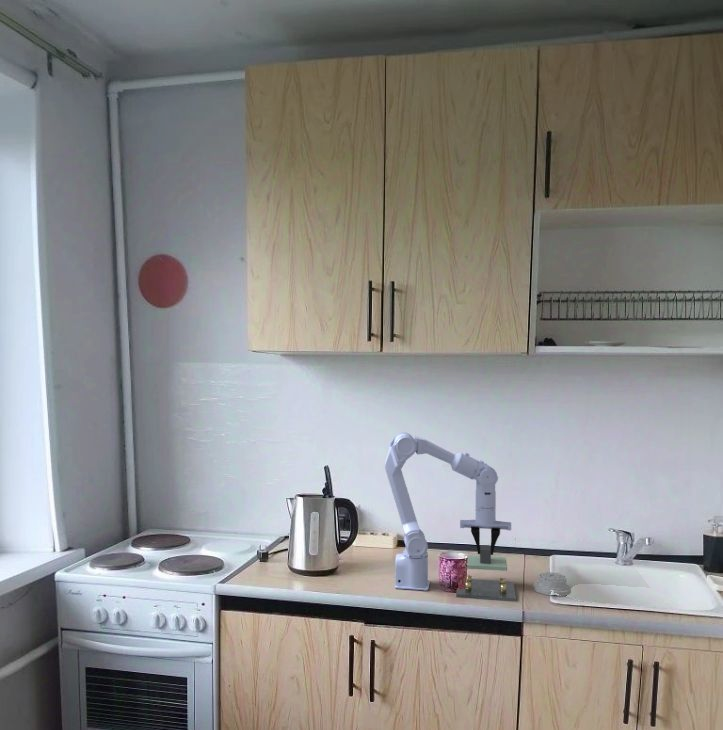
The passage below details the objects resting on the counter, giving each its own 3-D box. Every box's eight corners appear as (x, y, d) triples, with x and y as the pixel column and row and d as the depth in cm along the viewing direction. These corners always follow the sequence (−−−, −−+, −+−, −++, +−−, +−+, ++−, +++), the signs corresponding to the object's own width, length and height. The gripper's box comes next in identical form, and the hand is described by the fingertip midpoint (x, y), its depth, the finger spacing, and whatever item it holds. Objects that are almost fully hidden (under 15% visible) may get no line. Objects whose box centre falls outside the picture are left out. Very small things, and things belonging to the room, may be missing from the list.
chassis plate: (456, 597, 169) (456, 586, 169) (458, 580, 183) (458, 571, 183) (516, 601, 166) (516, 590, 166) (513, 584, 180) (513, 574, 180)
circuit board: (464, 568, 176) (464, 551, 176) (464, 558, 184) (464, 541, 184) (507, 570, 174) (507, 553, 174) (505, 560, 182) (505, 543, 182)
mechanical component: (576, 590, 176) (542, 582, 182) (576, 574, 176) (542, 567, 182) (563, 600, 168) (528, 591, 175) (563, 583, 168) (528, 576, 175)
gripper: (510, 504, 182) (510, 551, 181) (460, 502, 184) (460, 548, 184) (511, 509, 175) (511, 558, 174) (460, 507, 177) (459, 555, 177)
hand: (485, 553), depth 179 cm, fingers closed on circuit board, 3 cm apart
